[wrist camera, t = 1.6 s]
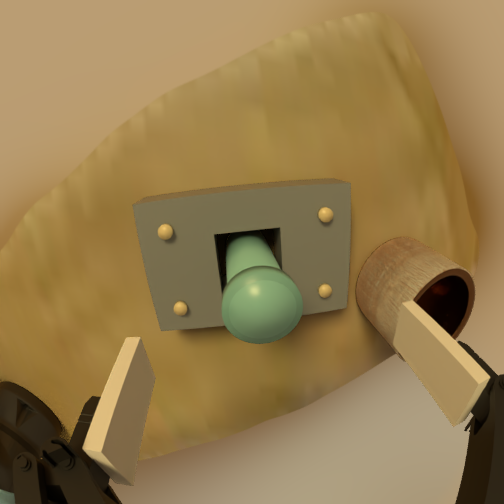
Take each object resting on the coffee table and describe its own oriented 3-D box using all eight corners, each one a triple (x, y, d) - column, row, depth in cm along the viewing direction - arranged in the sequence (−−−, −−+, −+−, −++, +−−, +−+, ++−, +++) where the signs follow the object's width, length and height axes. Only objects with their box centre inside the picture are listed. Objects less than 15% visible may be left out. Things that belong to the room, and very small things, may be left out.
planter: (409, 319, 33) (448, 360, 24) (341, 316, 32) (376, 368, 23) (436, 242, 30) (488, 271, 21) (369, 227, 28) (422, 259, 19)
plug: (224, 272, 28) (227, 347, 17) (218, 225, 27) (216, 278, 16) (272, 267, 29) (302, 337, 17) (269, 220, 27) (302, 268, 16)
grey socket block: (167, 309, 29) (160, 334, 25) (145, 197, 25) (130, 206, 21) (332, 289, 30) (348, 310, 26) (333, 178, 26) (353, 183, 22)
